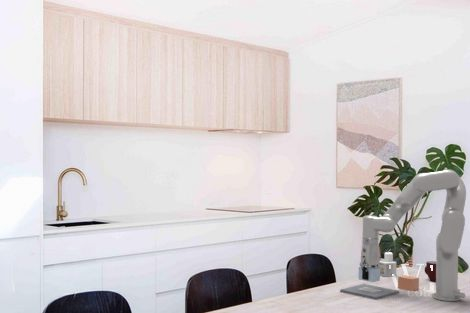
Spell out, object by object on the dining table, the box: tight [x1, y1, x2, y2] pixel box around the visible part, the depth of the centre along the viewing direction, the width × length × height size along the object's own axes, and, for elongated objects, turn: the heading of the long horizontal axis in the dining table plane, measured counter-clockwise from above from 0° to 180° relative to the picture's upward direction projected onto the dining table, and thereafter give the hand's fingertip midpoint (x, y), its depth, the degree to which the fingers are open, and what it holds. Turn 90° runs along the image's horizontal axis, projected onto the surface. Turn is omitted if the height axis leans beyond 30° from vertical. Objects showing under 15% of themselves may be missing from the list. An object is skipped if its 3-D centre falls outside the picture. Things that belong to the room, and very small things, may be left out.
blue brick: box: [358, 266, 381, 283], centre depth 284 cm, size 8×6×6 cm
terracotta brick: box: [397, 274, 420, 292], centre depth 293 cm, size 8×6×6 cm
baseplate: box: [339, 283, 400, 301], centre depth 284 cm, size 20×20×1 cm
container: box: [377, 250, 398, 278], centre depth 327 cm, size 8×8×13 cm
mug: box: [424, 260, 436, 283], centre depth 314 cm, size 11×8×10 cm
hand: (369, 278), depth 284 cm, fingers closed on blue brick, 6 cm apart
